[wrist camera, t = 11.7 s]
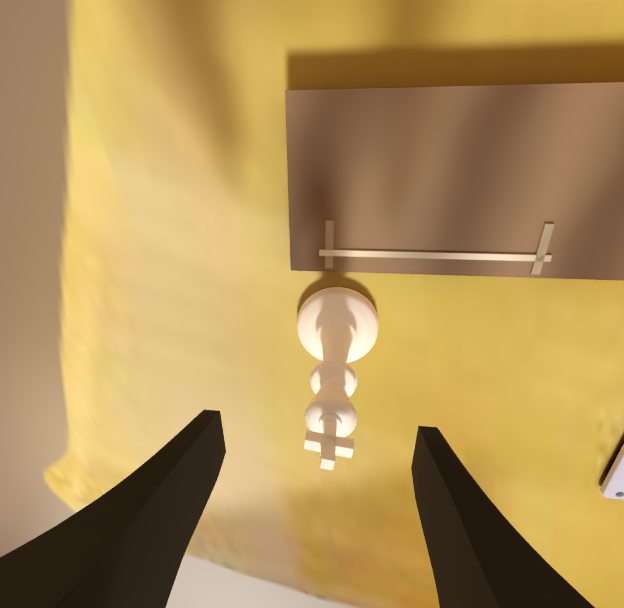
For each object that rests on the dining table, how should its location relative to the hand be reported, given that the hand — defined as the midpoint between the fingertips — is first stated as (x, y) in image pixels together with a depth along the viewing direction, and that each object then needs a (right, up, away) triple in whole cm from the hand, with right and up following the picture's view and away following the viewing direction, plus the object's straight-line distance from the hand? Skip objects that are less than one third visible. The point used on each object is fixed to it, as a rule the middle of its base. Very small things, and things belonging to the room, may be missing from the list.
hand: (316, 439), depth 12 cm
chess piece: (+1, +4, +8) cm, 9 cm away
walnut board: (+8, +11, +4) cm, 14 cm away
